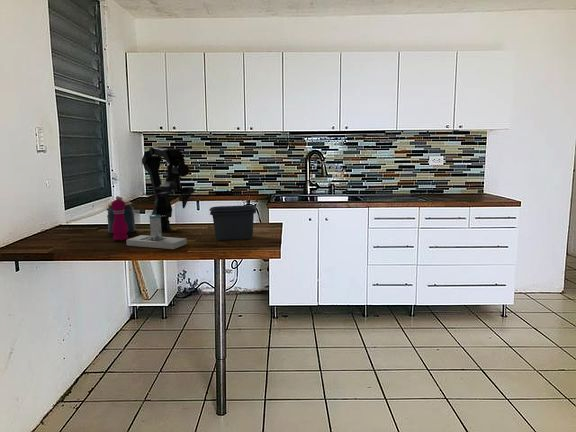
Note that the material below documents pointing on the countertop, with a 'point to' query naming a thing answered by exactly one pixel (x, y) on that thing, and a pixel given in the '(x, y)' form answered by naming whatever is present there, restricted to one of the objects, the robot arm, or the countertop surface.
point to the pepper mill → (119, 220)
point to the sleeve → (155, 227)
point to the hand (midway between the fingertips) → (175, 207)
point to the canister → (127, 216)
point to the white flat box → (156, 242)
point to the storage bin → (233, 221)
